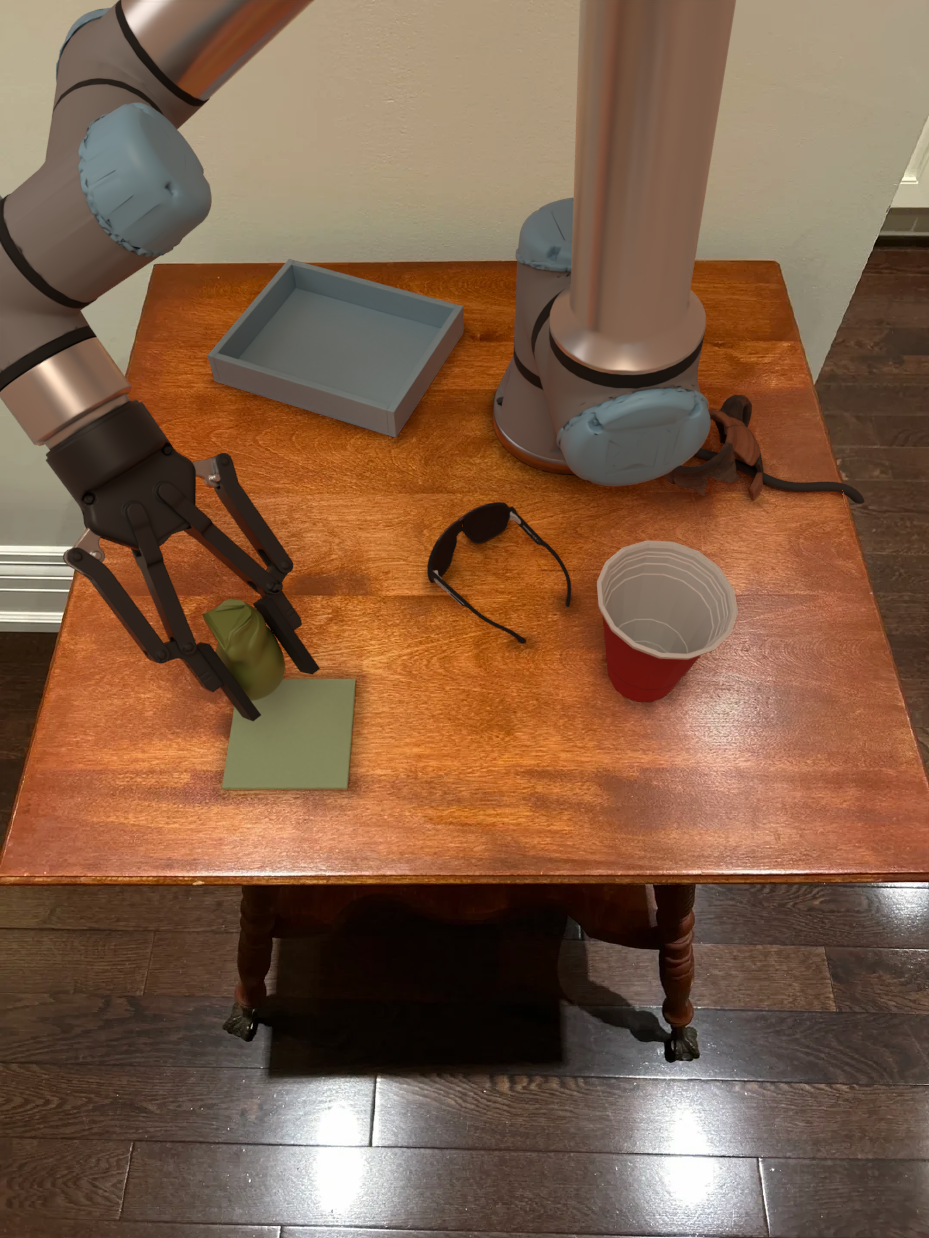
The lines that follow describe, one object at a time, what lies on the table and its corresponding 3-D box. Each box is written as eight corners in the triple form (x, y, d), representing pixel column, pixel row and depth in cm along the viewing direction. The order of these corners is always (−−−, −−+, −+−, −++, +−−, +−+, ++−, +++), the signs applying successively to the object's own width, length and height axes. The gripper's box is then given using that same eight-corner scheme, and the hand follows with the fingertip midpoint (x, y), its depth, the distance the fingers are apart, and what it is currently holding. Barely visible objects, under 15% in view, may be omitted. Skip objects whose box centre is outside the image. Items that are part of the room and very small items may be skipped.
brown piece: (756, 528, 91) (730, 481, 85) (667, 522, 97) (636, 477, 91) (791, 424, 94) (767, 371, 88) (702, 424, 100) (675, 375, 94)
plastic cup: (703, 741, 78) (737, 666, 68) (572, 718, 79) (587, 641, 69) (711, 632, 84) (743, 548, 74) (589, 612, 85) (605, 527, 75)
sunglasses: (495, 517, 91) (501, 486, 87) (584, 599, 88) (595, 572, 83) (413, 578, 87) (415, 549, 83) (503, 667, 84) (510, 642, 79)
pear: (302, 690, 75) (281, 621, 67) (242, 725, 74) (213, 658, 65) (268, 641, 78) (244, 569, 69) (210, 674, 76) (178, 603, 68)
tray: (463, 332, 106) (463, 306, 103) (396, 438, 97) (393, 412, 94) (293, 285, 111) (288, 258, 108) (214, 381, 102) (206, 355, 99)
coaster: (356, 681, 82) (355, 678, 81) (348, 790, 76) (347, 787, 76) (239, 681, 82) (238, 678, 81) (223, 790, 76) (221, 787, 76)
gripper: (184, 370, 71) (351, 621, 78) (-34, 499, 64) (171, 761, 72) (211, 348, 65) (390, 624, 72) (-30, 488, 58) (196, 779, 65)
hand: (281, 692), depth 72 cm, fingers closed on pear, 5 cm apart
